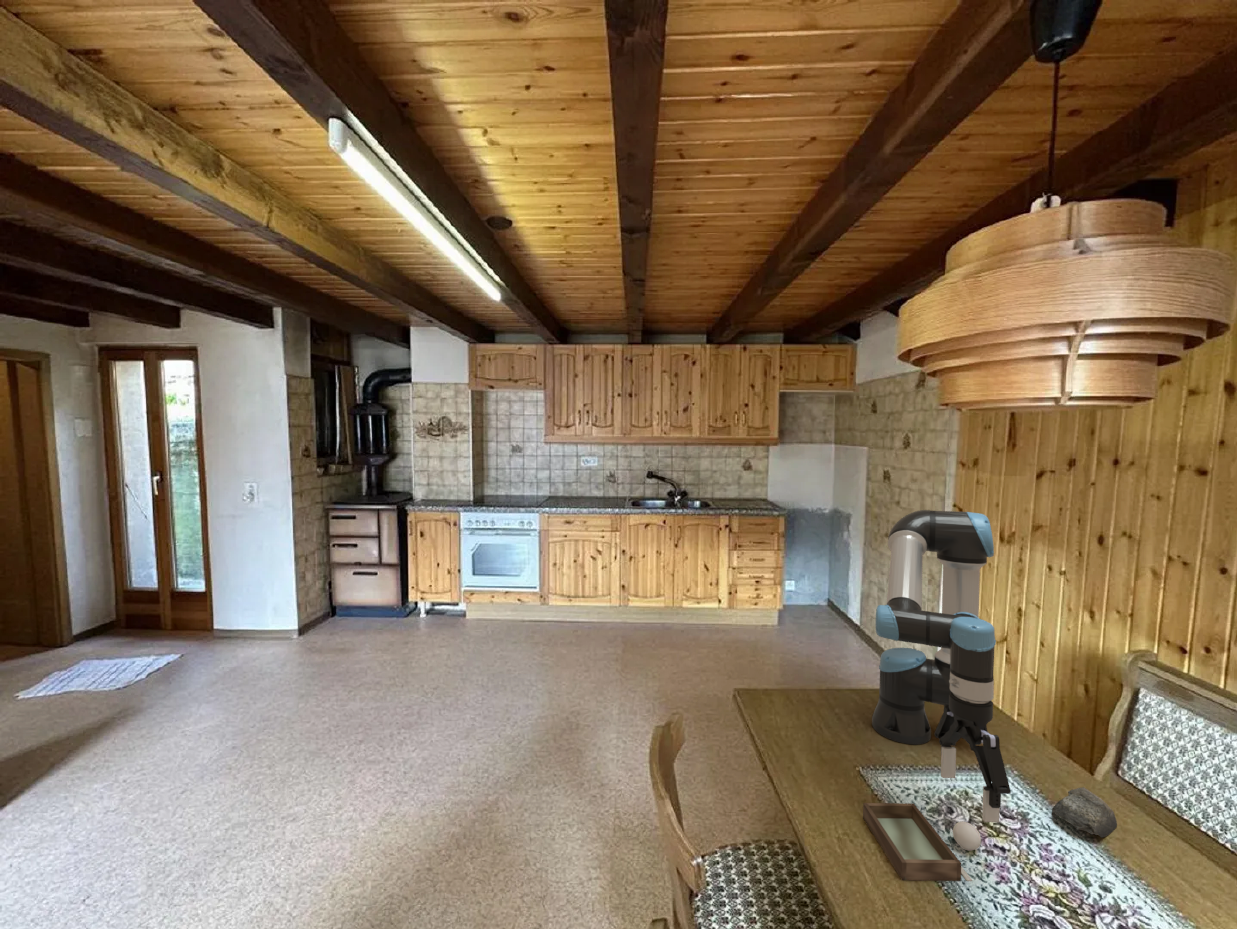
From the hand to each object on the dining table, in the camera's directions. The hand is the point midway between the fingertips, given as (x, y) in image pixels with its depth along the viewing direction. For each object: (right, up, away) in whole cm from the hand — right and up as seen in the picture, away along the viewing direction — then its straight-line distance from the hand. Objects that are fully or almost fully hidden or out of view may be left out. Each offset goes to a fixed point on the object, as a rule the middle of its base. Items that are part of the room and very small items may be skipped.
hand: (968, 797), depth 109 cm
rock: (+30, -11, +7) cm, 33 cm away
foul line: (-5, -11, +1) cm, 12 cm away
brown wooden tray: (-12, -11, +1) cm, 16 cm away
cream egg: (0, -11, +1) cm, 11 cm away
